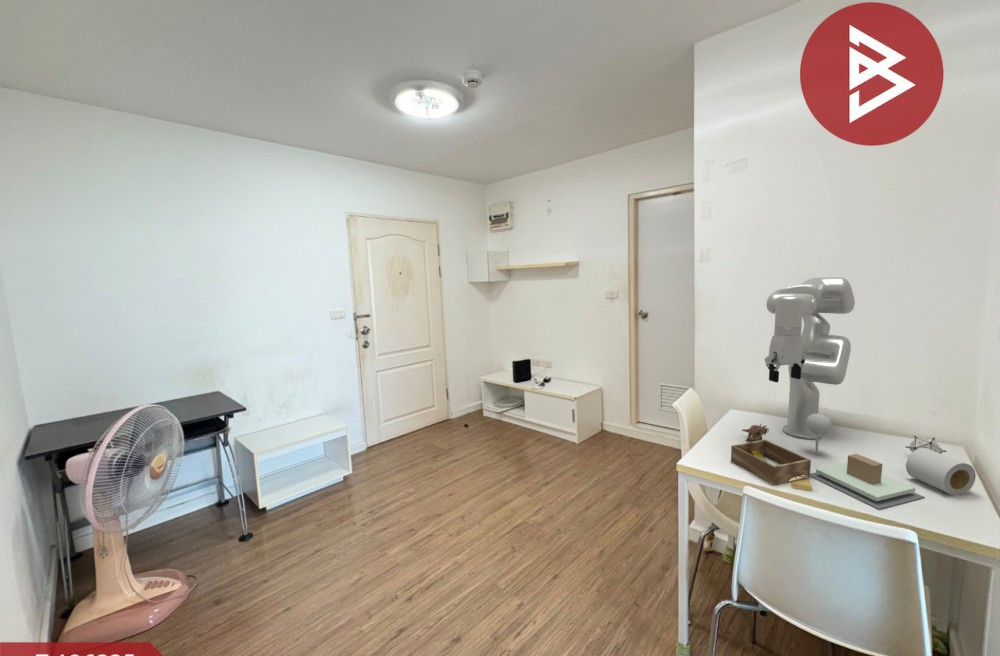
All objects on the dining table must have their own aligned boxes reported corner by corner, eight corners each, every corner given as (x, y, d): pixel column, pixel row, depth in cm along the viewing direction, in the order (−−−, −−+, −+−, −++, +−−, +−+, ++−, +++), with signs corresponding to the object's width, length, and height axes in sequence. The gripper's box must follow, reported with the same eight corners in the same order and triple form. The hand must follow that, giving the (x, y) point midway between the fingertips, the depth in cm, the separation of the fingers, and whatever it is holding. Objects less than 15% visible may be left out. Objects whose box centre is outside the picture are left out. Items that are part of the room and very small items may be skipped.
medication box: (770, 478, 129) (771, 467, 128) (761, 477, 130) (762, 466, 129) (758, 461, 140) (758, 450, 140) (749, 460, 141) (750, 449, 141)
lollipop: (824, 450, 145) (827, 411, 143) (832, 459, 139) (836, 418, 137) (800, 448, 148) (803, 409, 146) (808, 457, 141) (811, 416, 139)
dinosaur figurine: (773, 451, 147) (775, 427, 145) (756, 451, 147) (758, 427, 146) (754, 435, 160) (755, 413, 159) (739, 435, 161) (740, 414, 159)
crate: (763, 455, 144) (764, 439, 143) (809, 477, 128) (810, 460, 127) (730, 461, 140) (731, 445, 140) (773, 485, 124) (774, 467, 124)
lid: (850, 467, 132) (852, 444, 131) (914, 495, 116) (917, 468, 115) (815, 475, 128) (817, 451, 127) (876, 504, 112) (879, 477, 111)
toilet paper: (973, 494, 116) (977, 461, 114) (942, 497, 115) (946, 464, 113) (933, 476, 126) (936, 446, 124) (904, 479, 125) (907, 449, 123)
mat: (848, 466, 134) (848, 465, 134) (924, 498, 115) (924, 496, 115) (807, 475, 129) (807, 474, 129) (879, 510, 110) (879, 508, 110)
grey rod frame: (925, 468, 137) (943, 445, 136) (939, 471, 130) (958, 446, 129) (894, 451, 141) (912, 428, 141) (906, 452, 134) (925, 428, 133)
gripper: (796, 328, 142) (793, 374, 145) (757, 332, 138) (755, 379, 140) (818, 331, 135) (814, 379, 137) (777, 335, 131) (774, 385, 133)
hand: (784, 379), depth 139 cm, fingers open, 9 cm apart
